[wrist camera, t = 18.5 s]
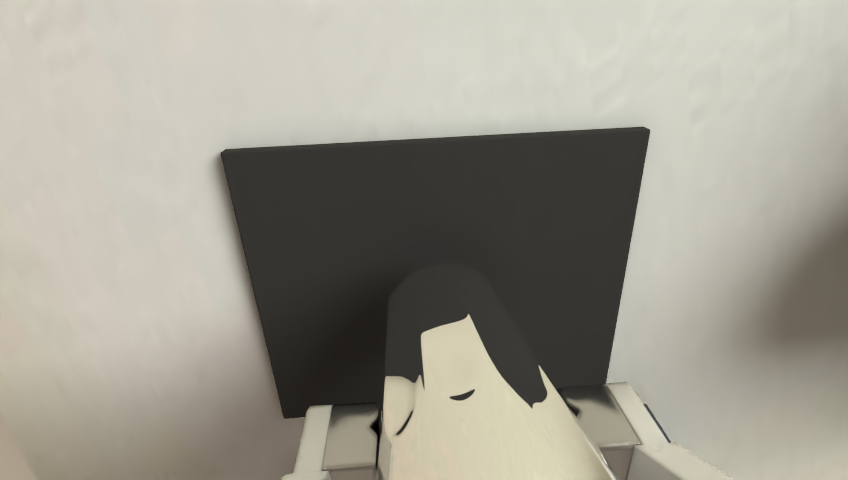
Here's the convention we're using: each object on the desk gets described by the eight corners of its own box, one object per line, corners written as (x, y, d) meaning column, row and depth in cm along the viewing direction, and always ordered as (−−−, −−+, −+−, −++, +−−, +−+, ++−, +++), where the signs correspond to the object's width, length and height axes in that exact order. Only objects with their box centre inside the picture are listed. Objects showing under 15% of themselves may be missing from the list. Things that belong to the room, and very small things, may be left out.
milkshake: (431, 409, 15) (530, 1014, 6) (329, 295, 12) (231, 1001, 4) (556, 340, 14) (885, 906, 5) (472, 206, 12) (801, 805, 3)
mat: (285, 410, 17) (283, 419, 17) (225, 148, 13) (219, 152, 12) (600, 387, 18) (604, 395, 17) (644, 126, 13) (651, 129, 13)
